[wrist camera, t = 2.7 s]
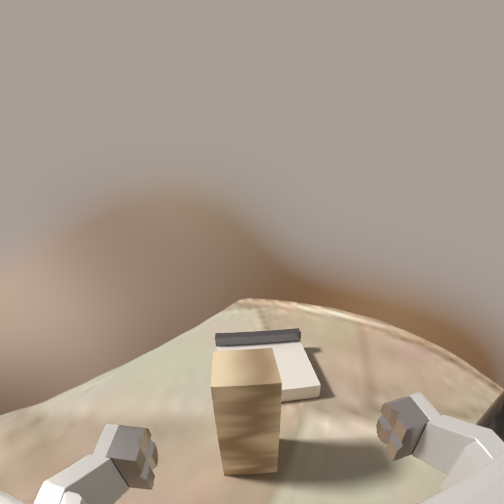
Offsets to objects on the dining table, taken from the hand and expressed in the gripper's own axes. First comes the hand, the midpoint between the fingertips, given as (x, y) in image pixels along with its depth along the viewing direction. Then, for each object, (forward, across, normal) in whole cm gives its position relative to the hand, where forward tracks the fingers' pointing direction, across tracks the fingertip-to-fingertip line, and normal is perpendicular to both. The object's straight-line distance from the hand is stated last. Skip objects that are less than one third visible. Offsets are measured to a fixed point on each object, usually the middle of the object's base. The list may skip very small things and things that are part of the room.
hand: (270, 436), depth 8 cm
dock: (+27, -2, +17) cm, 32 cm away
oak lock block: (+12, +1, +17) cm, 21 cm away
